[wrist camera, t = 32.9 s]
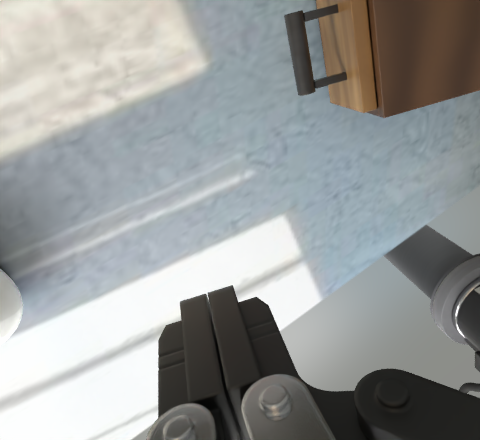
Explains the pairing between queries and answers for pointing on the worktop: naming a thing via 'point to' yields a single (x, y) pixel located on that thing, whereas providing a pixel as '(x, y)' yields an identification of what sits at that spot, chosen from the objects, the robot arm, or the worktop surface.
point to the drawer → (337, 52)
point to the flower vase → (9, 307)
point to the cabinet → (424, 52)
